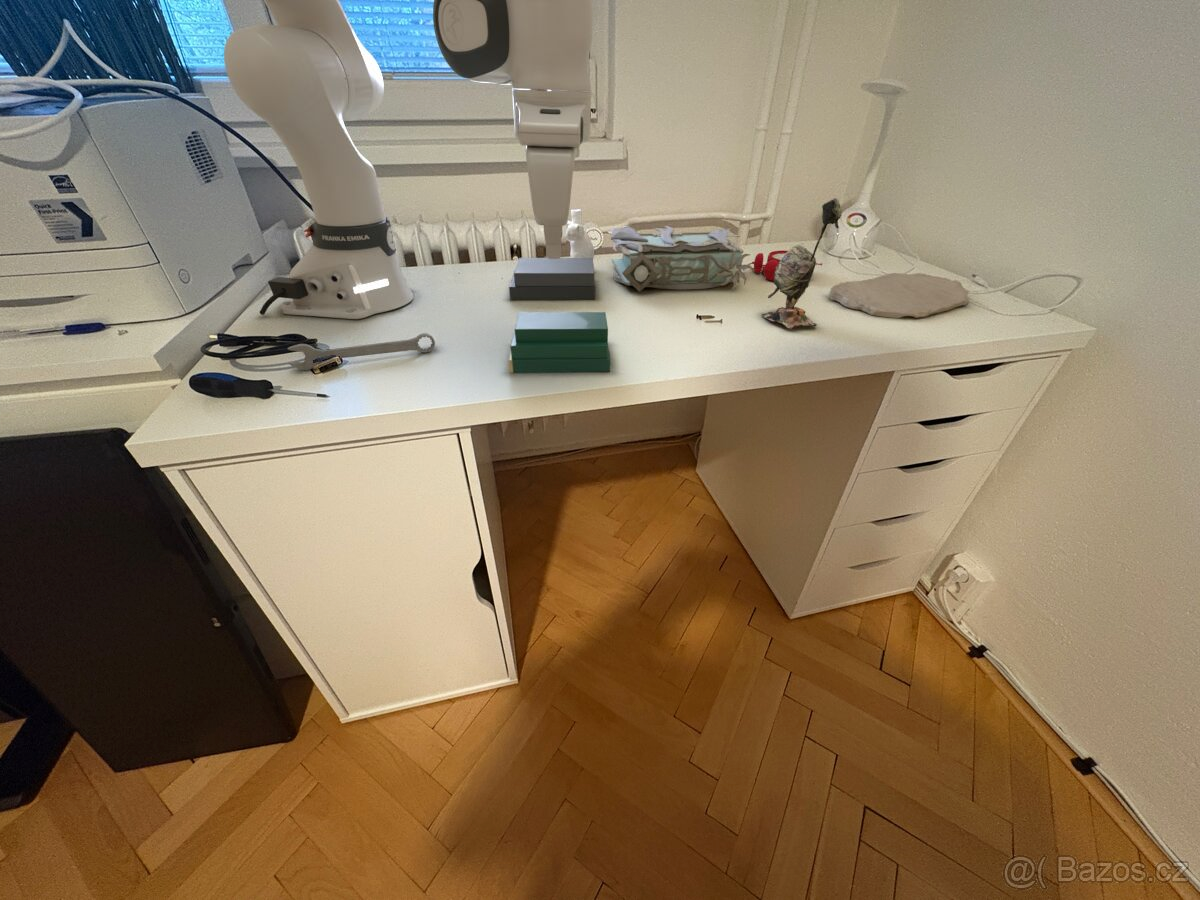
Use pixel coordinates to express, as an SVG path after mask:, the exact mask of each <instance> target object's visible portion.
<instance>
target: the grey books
mask: <svg viewBox="0 0 1200 900" xmlns="http://www.w3.org/2000/svg"><path fill="white" fill-rule="evenodd" d="M594 265H595V264H594V257H593V258H571V257H560V258H559V259H549V258H548V257H518V259H517V262H516V266H515V268H514V270H513V274H512V277H511V279H510V283H509V286H508V290H509V299H510V301H540V300H541V301H556V300H557V301H566V300H567V301H575V300H576V301H577V300H578V301H580V300H582V301H585V300H586V301H589V300H590V301H595V300H596V283H595V281H596V277H595V276H596V275H595V267H594Z"/></svg>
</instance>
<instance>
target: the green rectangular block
mask: <svg viewBox="0 0 1200 900" xmlns="http://www.w3.org/2000/svg"><path fill="white" fill-rule="evenodd" d="M515 326H516V324H515V325H514V327H515ZM509 347H510V352H509V353H510V354H509V357H508V367H509V373H511V374H513V373H514V374H516V373H517V374H518V373H519V374H520V373H523V374H525V373H610V372H611V356H610V348H609V347H610V346H609V341H608V342H530V343H516V338H515V328H514V330H513V334H512V339H511V342H510V346H509Z"/></svg>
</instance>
